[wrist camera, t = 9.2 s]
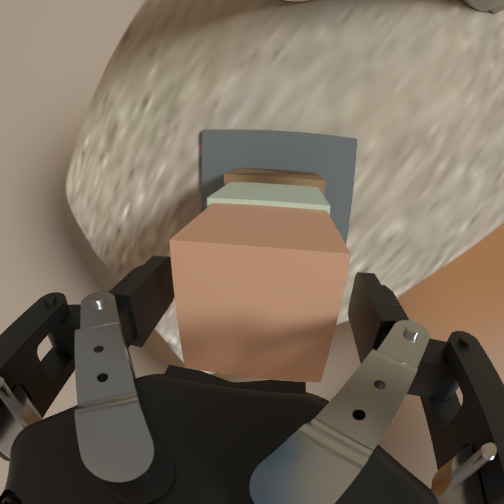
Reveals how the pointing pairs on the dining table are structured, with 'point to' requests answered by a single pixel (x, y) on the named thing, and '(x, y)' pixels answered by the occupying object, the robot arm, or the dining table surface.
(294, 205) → the sage block
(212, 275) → the terracotta cube
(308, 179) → the walnut block
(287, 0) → the beverage bottle
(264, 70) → the dining table surface
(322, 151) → the slate mat
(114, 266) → the dining table surface
